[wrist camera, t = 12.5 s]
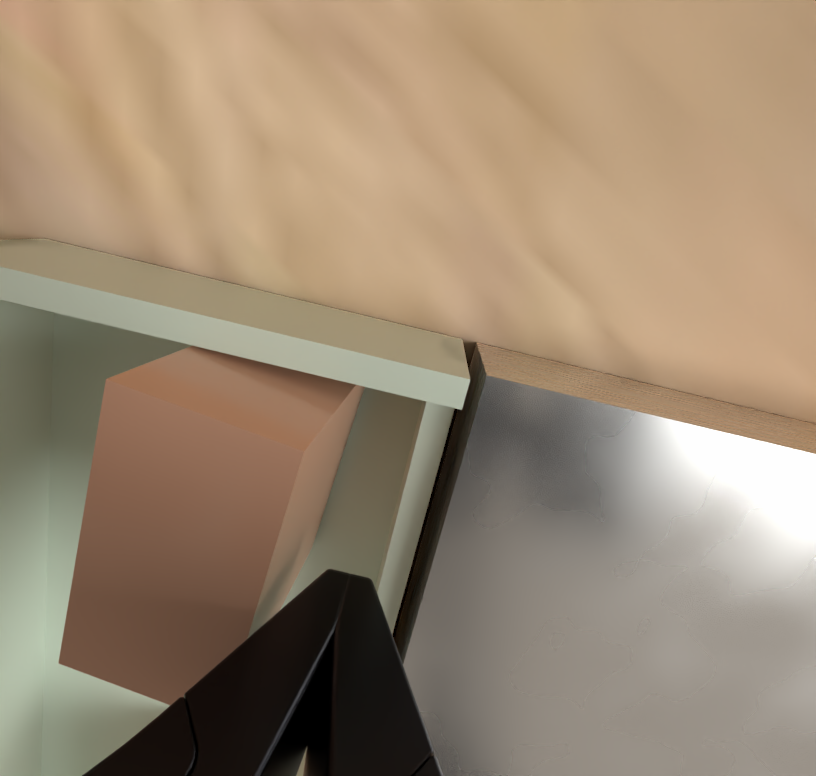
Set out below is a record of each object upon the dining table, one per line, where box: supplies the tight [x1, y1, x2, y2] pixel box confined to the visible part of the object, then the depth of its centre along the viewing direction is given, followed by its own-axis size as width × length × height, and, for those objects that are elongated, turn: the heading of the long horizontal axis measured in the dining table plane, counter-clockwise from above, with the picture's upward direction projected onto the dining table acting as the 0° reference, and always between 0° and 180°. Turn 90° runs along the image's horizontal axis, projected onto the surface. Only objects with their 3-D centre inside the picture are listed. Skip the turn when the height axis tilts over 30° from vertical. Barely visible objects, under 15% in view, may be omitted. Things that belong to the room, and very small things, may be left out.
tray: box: [0, 238, 470, 776], centre depth 12 cm, size 18×9×3 cm, turn 167°
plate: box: [394, 343, 816, 776], centre depth 12 cm, size 18×10×2 cm, turn 167°
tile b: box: [58, 346, 365, 705], centre depth 9 cm, size 4×4×2 cm
